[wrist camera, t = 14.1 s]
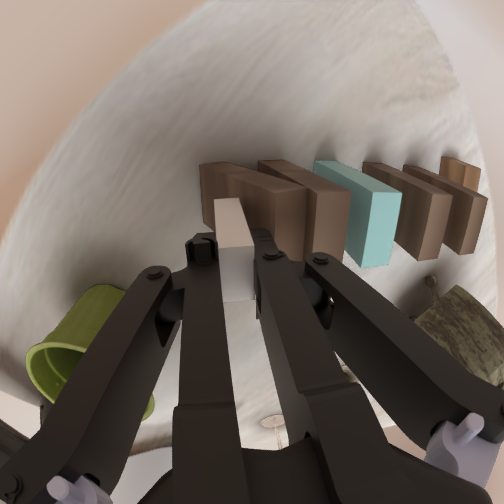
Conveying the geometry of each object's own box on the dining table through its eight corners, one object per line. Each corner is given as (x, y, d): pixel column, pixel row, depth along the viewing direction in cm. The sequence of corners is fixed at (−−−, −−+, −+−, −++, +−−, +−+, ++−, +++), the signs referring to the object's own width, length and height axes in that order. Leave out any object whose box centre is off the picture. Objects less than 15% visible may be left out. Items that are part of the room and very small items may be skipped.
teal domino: (311, 213, 26) (360, 268, 17) (314, 160, 24) (373, 192, 15) (332, 212, 26) (388, 264, 17) (336, 160, 24) (402, 192, 15)
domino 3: (357, 211, 27) (417, 260, 18) (363, 161, 24) (432, 194, 15) (375, 211, 27) (437, 258, 18) (381, 163, 24) (452, 195, 16)
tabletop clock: (446, 317, 38) (528, 424, 16) (405, 350, 40) (477, 468, 18) (434, 261, 31) (559, 395, 10) (382, 302, 33) (489, 464, 11)
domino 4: (396, 210, 27) (459, 255, 18) (403, 165, 25) (474, 196, 16) (411, 210, 27) (473, 253, 19) (418, 166, 25) (487, 198, 16)
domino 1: (203, 222, 24) (273, 277, 16) (199, 165, 22) (275, 193, 14) (226, 217, 25) (301, 266, 18) (224, 161, 23) (307, 187, 15)
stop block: (430, 222, 29) (451, 237, 25) (441, 156, 25) (466, 165, 21) (446, 222, 29) (466, 236, 25) (457, 159, 25) (481, 168, 22)
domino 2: (258, 216, 25) (309, 275, 17) (258, 160, 23) (317, 193, 14) (281, 214, 26) (341, 269, 17) (283, 159, 23) (351, 191, 15)
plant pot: (128, 360, 32) (114, 436, 22) (51, 306, 27) (14, 377, 17) (186, 311, 29) (183, 401, 19) (97, 240, 24) (48, 316, 14)
